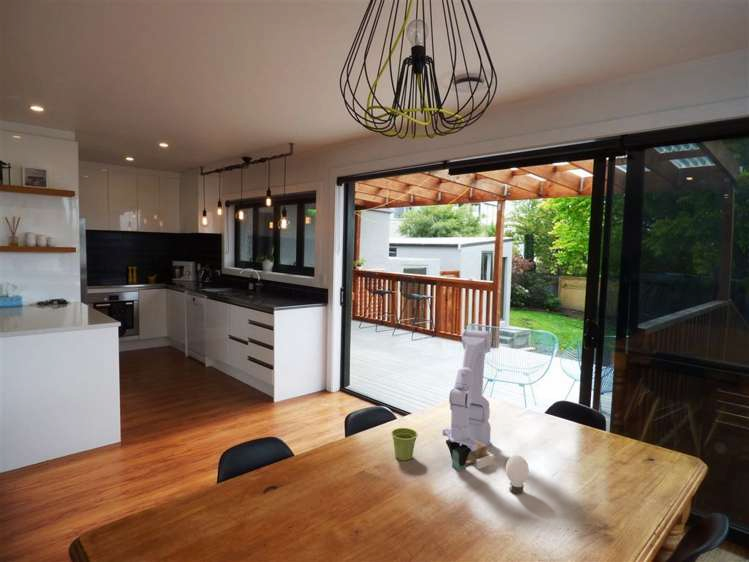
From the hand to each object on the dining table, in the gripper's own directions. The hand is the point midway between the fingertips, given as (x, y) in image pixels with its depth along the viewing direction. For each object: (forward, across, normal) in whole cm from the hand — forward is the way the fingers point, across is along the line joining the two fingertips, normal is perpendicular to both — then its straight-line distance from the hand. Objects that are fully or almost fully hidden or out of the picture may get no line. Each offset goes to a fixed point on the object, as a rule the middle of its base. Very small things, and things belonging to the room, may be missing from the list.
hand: (458, 463), depth 149 cm
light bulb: (+2, +20, +5) cm, 21 cm away
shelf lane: (+2, 0, +8) cm, 9 cm away
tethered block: (+2, 0, +5) cm, 5 cm away
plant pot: (+2, -16, -11) cm, 19 cm away
